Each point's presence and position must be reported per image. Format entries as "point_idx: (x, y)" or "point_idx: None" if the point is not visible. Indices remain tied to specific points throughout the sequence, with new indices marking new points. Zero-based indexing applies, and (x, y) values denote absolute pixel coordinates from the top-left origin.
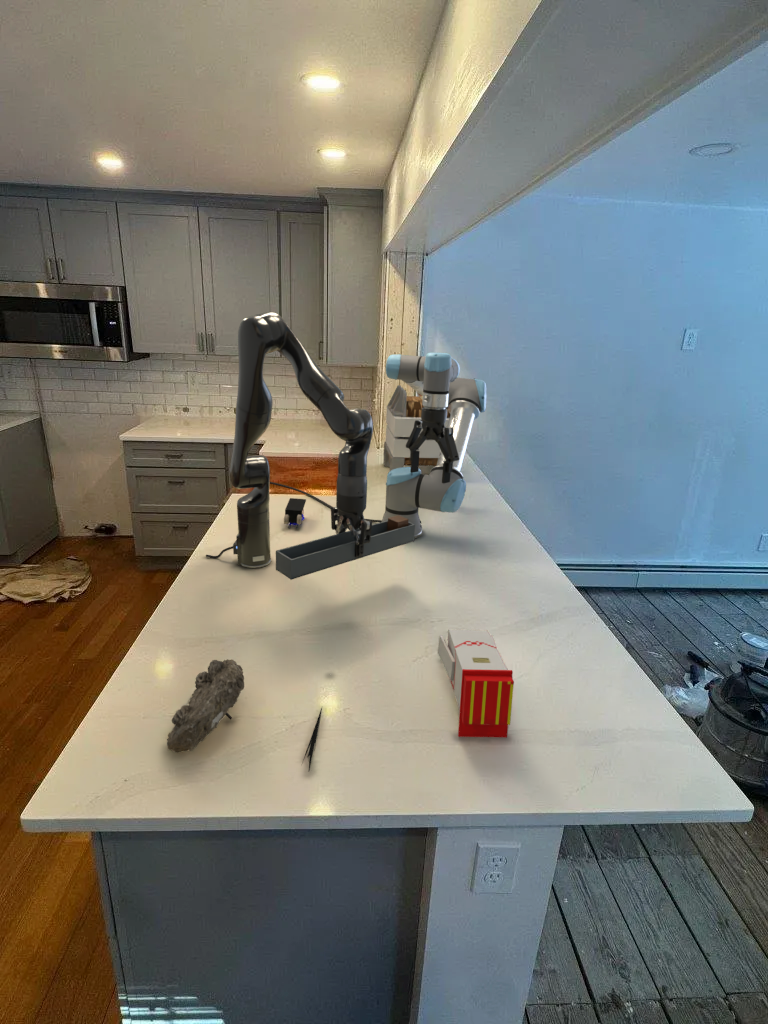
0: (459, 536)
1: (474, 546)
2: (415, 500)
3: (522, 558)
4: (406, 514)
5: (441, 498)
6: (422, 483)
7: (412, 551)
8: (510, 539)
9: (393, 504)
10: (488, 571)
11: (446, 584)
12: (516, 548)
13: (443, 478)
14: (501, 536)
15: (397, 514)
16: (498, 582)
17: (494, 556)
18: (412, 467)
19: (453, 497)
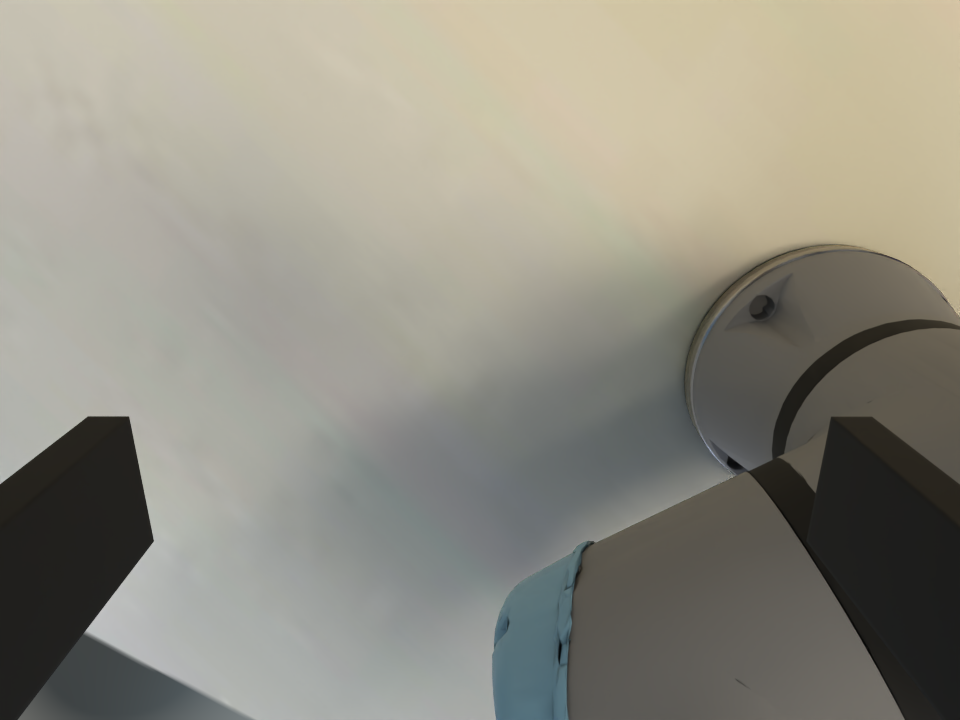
0: None
1: (422, 541)
2: (781, 464)
3: (199, 607)
4: (796, 386)
5: (583, 585)
6: (823, 606)
7: (574, 237)
8: (385, 715)
9: (929, 348)
10: (163, 382)
11: (141, 81)
12: (296, 664)
13: (46, 454)
14: (433, 711)
15: (847, 339)
16: (42, 329)
17: (281, 529)
18: (882, 465)
19: (502, 649)
